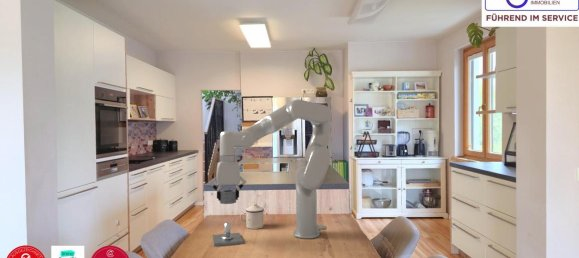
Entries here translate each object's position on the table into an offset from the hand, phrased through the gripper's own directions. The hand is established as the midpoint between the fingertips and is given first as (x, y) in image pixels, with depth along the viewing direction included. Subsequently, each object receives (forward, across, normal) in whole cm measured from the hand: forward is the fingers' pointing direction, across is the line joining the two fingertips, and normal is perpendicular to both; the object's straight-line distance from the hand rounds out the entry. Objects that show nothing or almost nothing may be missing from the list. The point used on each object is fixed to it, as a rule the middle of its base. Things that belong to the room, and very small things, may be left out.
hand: (227, 199), depth 145 cm
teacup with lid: (+18, -14, -18) cm, 29 cm away
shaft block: (+18, 0, 0) cm, 18 cm away
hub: (+1, 0, 0) cm, 1 cm away
